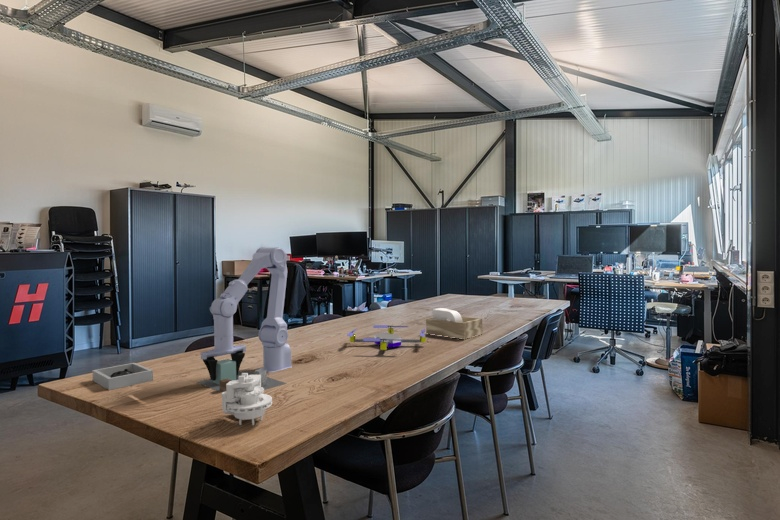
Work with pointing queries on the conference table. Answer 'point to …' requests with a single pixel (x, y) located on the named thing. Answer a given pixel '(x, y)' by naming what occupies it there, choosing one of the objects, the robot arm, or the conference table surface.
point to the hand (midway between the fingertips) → (224, 377)
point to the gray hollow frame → (137, 376)
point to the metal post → (262, 376)
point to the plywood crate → (455, 327)
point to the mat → (210, 384)
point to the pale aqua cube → (225, 370)
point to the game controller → (121, 373)
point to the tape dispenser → (446, 315)
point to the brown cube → (223, 384)
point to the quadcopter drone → (387, 338)
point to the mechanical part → (245, 398)
